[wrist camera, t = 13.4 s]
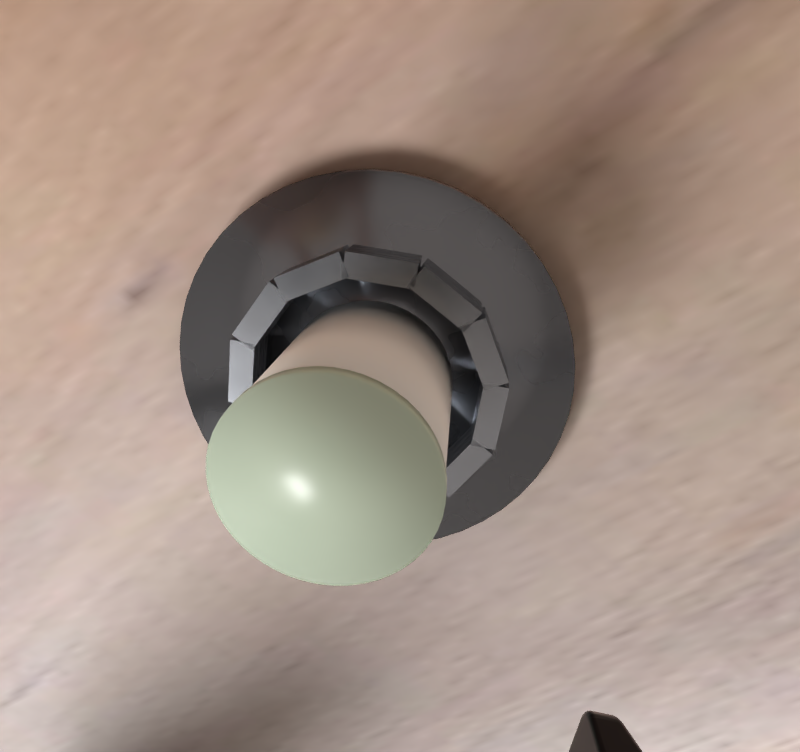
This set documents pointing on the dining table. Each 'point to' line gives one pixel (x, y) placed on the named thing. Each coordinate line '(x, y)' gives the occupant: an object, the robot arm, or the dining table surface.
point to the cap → (339, 448)
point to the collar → (406, 288)
